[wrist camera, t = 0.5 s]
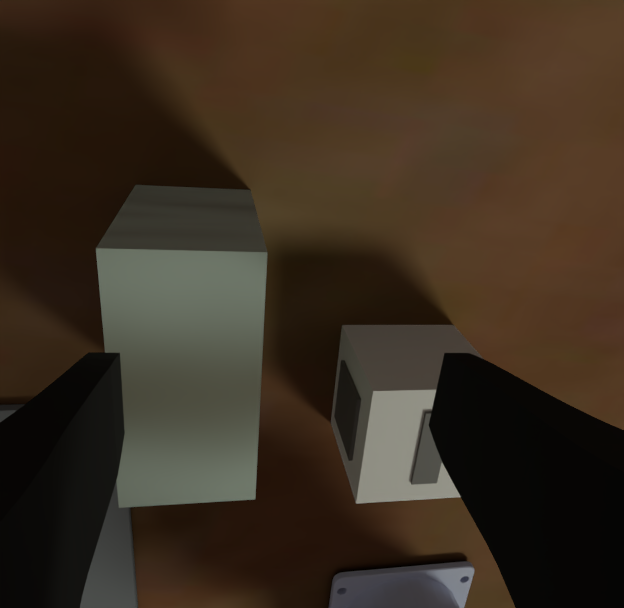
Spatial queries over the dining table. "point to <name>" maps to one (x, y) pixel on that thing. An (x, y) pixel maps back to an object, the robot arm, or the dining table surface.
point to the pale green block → (186, 341)
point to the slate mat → (107, 555)
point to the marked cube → (392, 409)
